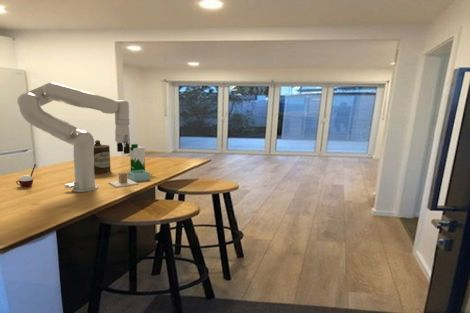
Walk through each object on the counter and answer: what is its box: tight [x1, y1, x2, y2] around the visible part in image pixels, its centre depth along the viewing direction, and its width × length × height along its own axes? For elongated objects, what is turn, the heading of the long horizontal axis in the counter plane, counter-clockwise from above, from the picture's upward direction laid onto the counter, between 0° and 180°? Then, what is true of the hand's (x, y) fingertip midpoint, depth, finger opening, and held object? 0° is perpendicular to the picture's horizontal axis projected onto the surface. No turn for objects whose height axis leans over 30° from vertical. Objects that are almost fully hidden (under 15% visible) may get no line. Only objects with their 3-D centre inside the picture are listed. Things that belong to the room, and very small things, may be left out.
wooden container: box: [94, 139, 112, 175], centre depth 203 cm, size 15×15×22 cm
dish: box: [126, 169, 151, 183], centre depth 185 cm, size 10×10×5 cm
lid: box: [108, 172, 138, 188], centre depth 173 cm, size 12×12×6 cm
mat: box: [107, 182, 139, 189], centre depth 173 cm, size 13×13×1 cm
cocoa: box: [15, 164, 37, 188], centre depth 163 cm, size 10×6×12 cm, turn 93°
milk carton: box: [129, 143, 146, 171], centre depth 203 cm, size 9×9×20 cm
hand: (123, 152), depth 171 cm, fingers open, 9 cm apart
